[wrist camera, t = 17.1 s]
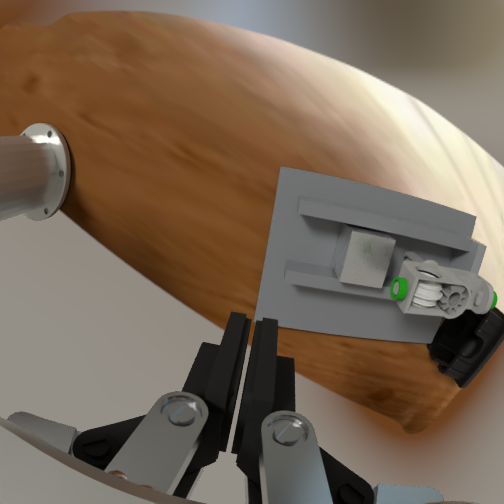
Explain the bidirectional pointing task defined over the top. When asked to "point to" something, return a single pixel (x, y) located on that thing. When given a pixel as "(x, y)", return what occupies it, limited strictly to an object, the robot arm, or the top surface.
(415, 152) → the top surface
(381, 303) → the grey railed base plate
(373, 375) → the top surface
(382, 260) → the grey matte cube
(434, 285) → the mechanical component
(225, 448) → the robot arm
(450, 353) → the end cap
